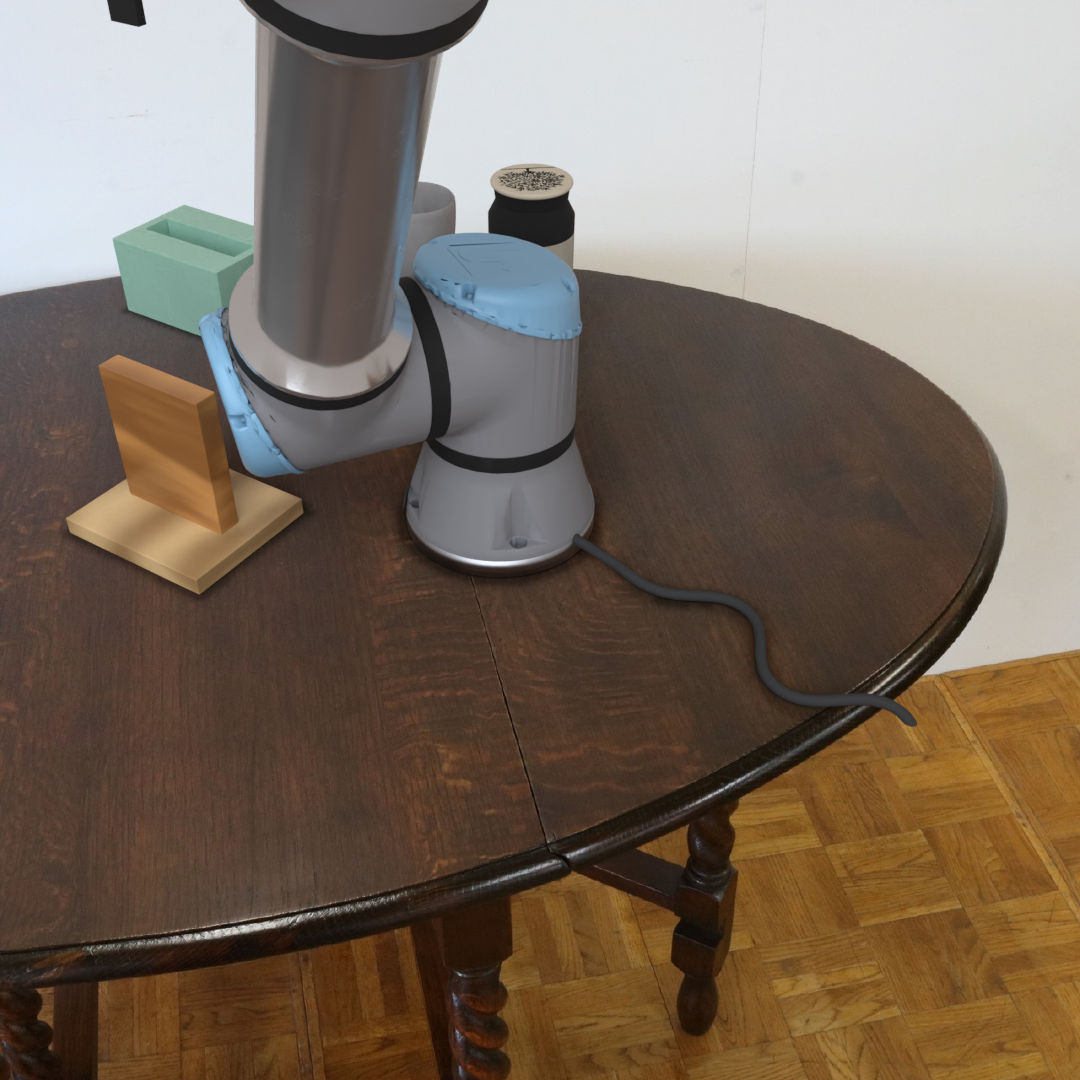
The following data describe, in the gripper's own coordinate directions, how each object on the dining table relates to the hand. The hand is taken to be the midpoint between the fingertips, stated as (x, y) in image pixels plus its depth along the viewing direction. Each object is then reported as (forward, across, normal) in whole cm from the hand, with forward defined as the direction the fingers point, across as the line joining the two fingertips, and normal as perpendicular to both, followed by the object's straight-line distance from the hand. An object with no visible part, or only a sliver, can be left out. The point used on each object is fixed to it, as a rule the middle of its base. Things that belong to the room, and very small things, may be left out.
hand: (195, 1), depth 89 cm
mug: (+35, -26, -2) cm, 44 cm away
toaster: (+35, -10, -15) cm, 39 cm away
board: (+34, +18, +8) cm, 40 cm away
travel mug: (+35, -20, +18) cm, 44 cm away
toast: (+33, +18, +8) cm, 39 cm away
